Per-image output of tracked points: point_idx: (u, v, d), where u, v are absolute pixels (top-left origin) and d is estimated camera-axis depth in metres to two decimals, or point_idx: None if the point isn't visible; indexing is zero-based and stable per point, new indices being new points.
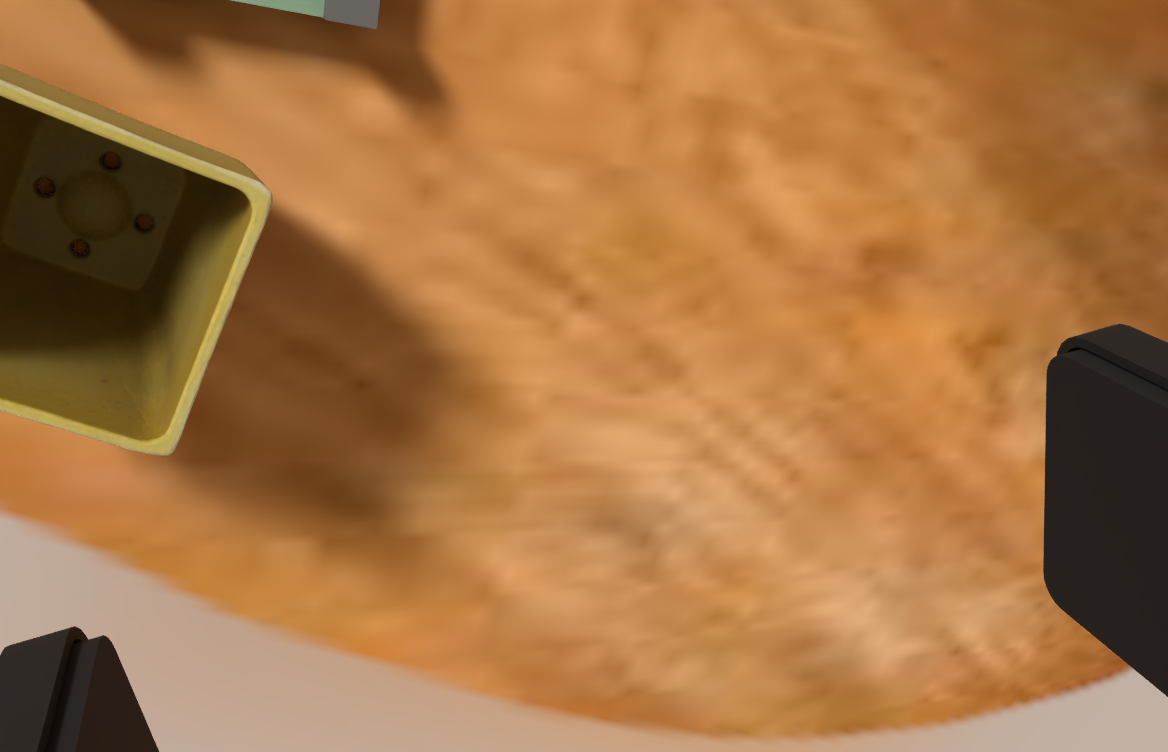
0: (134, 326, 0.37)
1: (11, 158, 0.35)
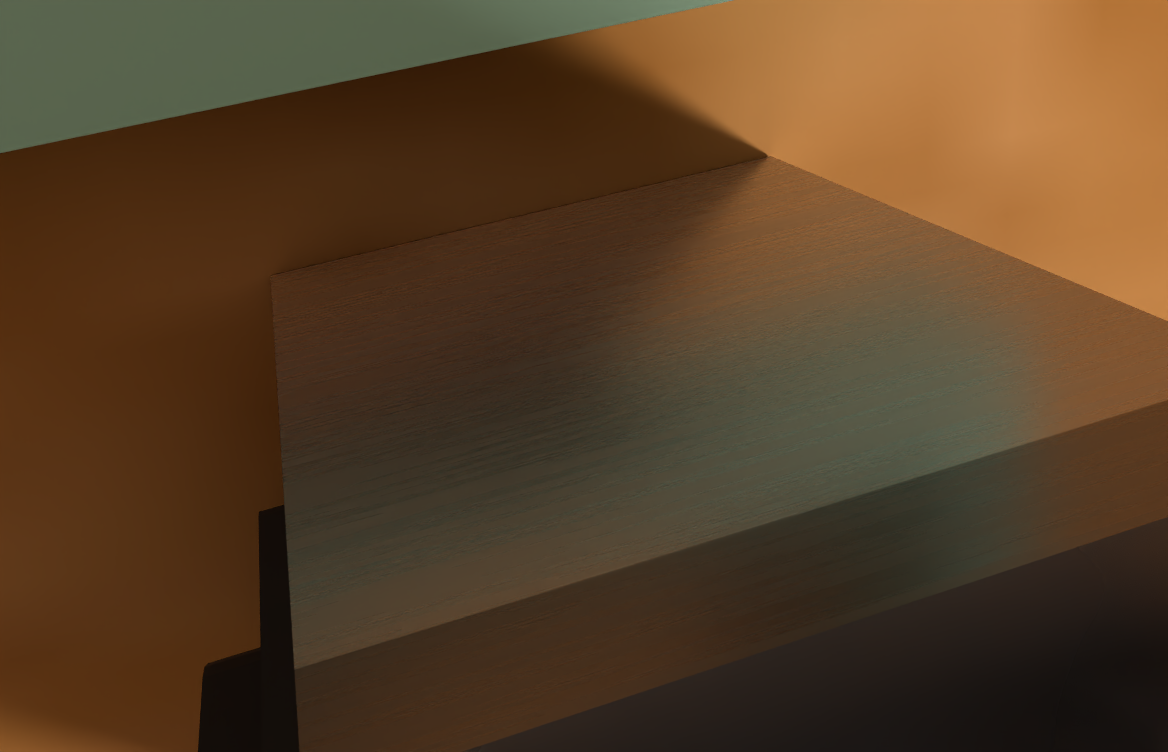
0: None
1: None
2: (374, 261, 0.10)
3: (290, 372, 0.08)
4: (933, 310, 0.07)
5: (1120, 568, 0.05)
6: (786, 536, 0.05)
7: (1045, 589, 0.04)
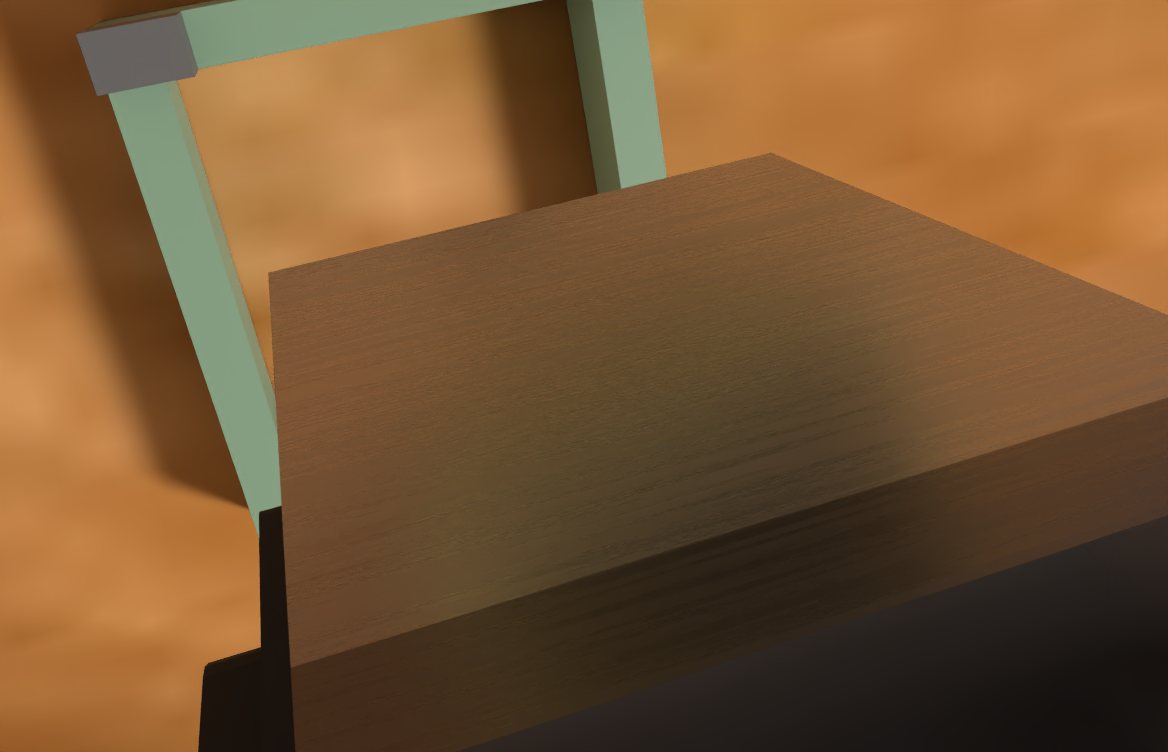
0: None
1: None
2: (373, 258, 0.10)
3: (288, 369, 0.08)
4: (938, 305, 0.07)
5: (1124, 565, 0.05)
6: (789, 533, 0.05)
7: (1050, 587, 0.04)
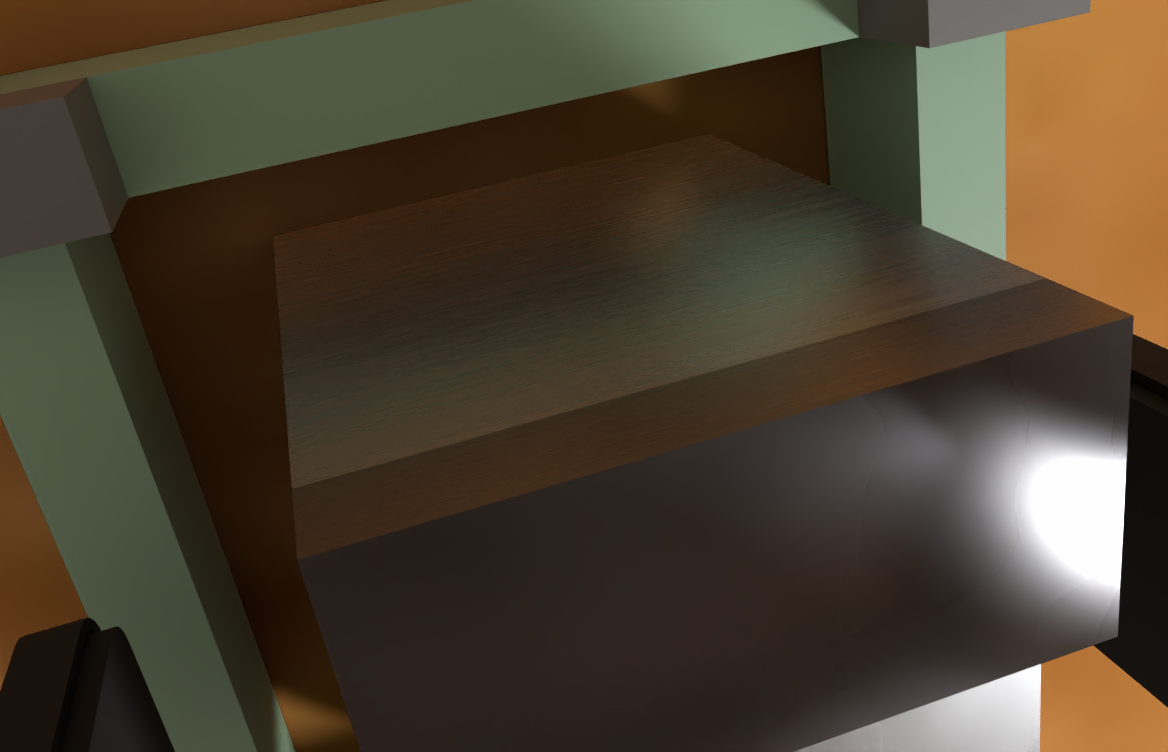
0: None
1: None
2: (361, 221, 0.11)
3: (289, 304, 0.09)
4: (806, 246, 0.08)
5: (895, 412, 0.06)
6: (658, 395, 0.07)
7: (838, 427, 0.06)
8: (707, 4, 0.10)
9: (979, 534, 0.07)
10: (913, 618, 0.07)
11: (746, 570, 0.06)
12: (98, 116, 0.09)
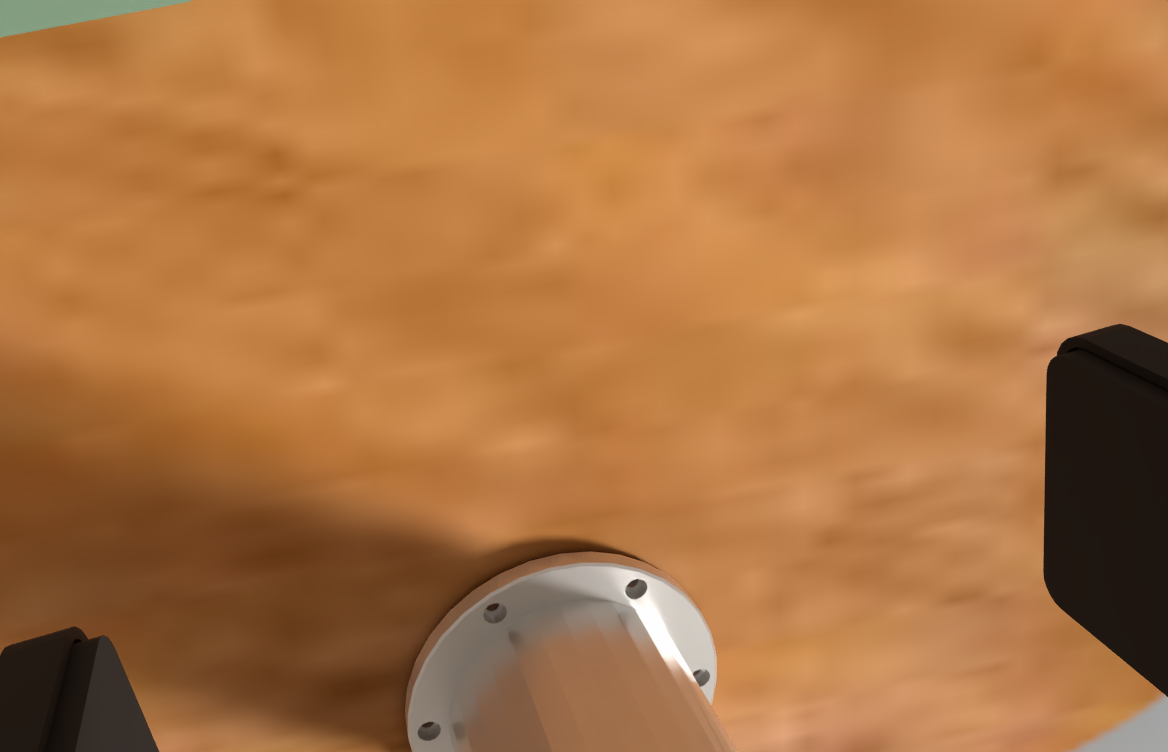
0: None
1: None
2: None
3: None
4: None
5: None
6: None
7: None
8: None
9: None
10: None
11: None
12: None
